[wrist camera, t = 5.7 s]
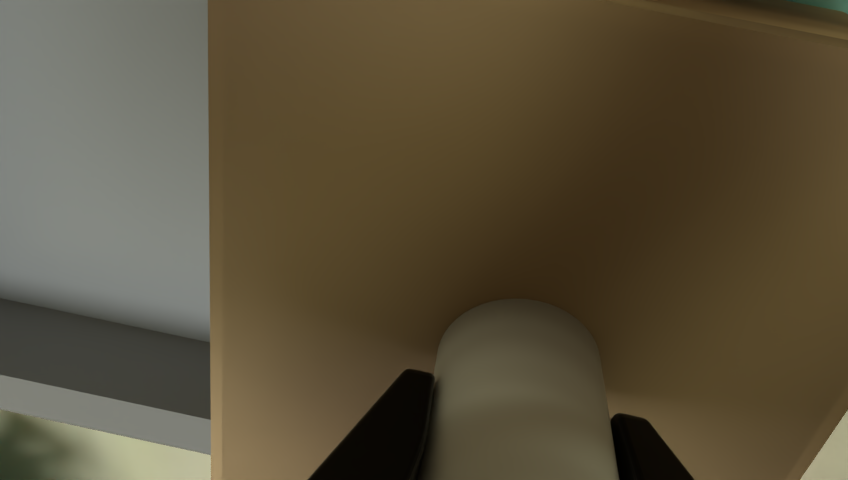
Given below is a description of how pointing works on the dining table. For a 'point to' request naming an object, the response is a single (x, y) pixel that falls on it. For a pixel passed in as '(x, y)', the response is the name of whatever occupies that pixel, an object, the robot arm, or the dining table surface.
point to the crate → (528, 230)
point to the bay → (109, 215)
